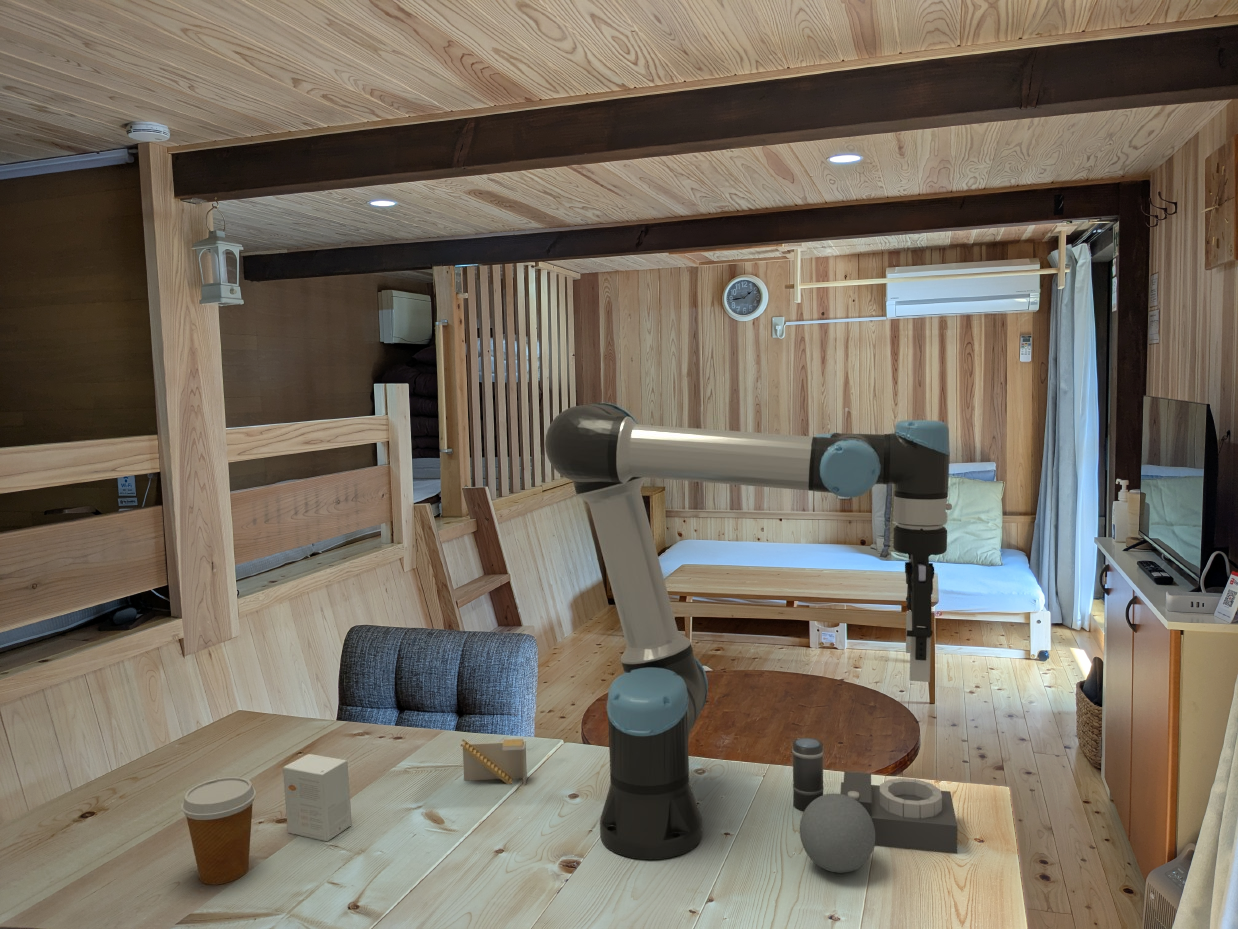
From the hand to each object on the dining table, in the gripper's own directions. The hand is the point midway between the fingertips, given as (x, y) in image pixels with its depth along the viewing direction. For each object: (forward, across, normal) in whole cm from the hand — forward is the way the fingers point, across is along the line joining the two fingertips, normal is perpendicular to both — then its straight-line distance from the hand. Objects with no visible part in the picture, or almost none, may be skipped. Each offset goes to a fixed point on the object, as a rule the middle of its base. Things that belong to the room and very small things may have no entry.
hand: (917, 666), depth 136 cm
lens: (+24, 0, +16) cm, 28 cm away
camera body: (+23, -5, +3) cm, 24 cm away
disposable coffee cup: (+26, -37, +94) cm, 104 cm away
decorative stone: (+24, -17, +11) cm, 31 cm away
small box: (+26, -23, +88) cm, 94 cm away
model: (+26, -2, +68) cm, 72 cm away
